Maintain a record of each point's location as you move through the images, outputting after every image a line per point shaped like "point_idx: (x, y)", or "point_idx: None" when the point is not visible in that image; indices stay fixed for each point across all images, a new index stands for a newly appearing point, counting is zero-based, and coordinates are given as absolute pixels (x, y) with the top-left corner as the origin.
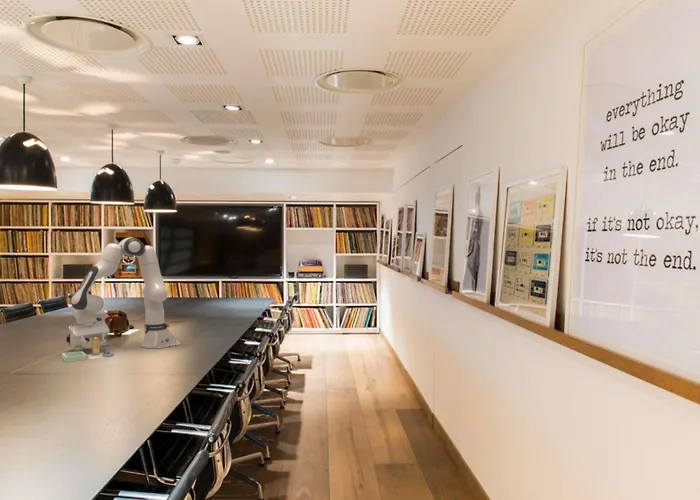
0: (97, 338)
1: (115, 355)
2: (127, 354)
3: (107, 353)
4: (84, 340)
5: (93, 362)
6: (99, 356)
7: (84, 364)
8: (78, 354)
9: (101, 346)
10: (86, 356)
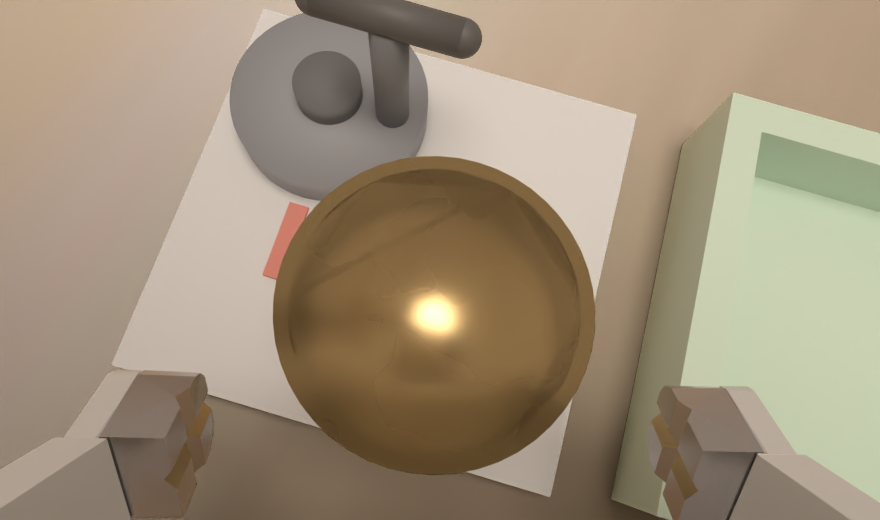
0: (449, 169)
1: (247, 47)
2: (10, 94)
3: (355, 70)
4: (785, 445)
5: (633, 21)
6: None
7: (766, 11)
8: None
9: (458, 21)
10: (721, 107)
